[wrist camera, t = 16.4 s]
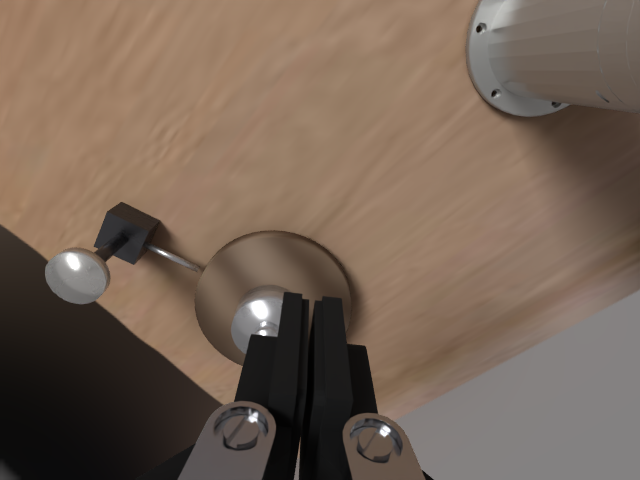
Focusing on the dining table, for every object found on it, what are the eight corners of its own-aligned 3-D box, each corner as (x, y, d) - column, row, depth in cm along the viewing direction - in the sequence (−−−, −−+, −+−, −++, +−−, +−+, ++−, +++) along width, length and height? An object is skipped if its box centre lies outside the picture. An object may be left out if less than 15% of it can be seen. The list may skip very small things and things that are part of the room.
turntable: (274, 198, 39) (267, 219, 34) (382, 303, 44) (391, 337, 38) (168, 297, 43) (147, 330, 38) (277, 384, 48) (272, 425, 43)
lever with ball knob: (105, 235, 42) (38, 288, 32) (120, 199, 40) (54, 242, 30) (195, 276, 44) (158, 339, 34) (211, 244, 42) (179, 299, 32)
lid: (267, 271, 40) (262, 295, 36) (318, 313, 42) (319, 340, 38) (222, 315, 42) (212, 342, 38) (273, 354, 44) (269, 383, 40)
